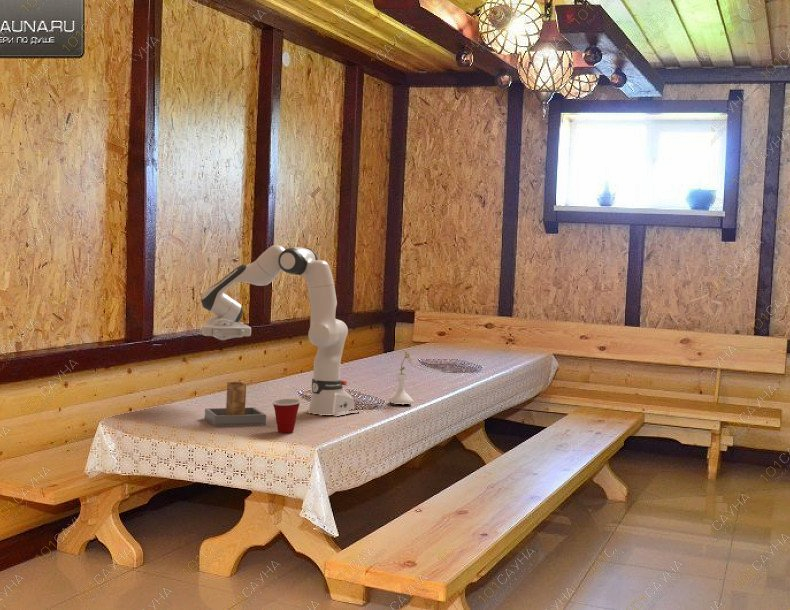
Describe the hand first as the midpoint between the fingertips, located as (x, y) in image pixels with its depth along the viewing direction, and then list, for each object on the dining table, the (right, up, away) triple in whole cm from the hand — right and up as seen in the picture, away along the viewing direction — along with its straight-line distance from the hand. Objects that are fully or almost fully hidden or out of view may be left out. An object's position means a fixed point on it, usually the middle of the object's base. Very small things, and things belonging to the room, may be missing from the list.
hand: (231, 333), depth 424 cm
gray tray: (+5, -34, -19) cm, 39 cm away
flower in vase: (+69, -33, +39) cm, 86 cm away
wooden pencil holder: (+5, -33, -19) cm, 39 cm away
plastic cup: (+26, -36, -34) cm, 56 cm away
